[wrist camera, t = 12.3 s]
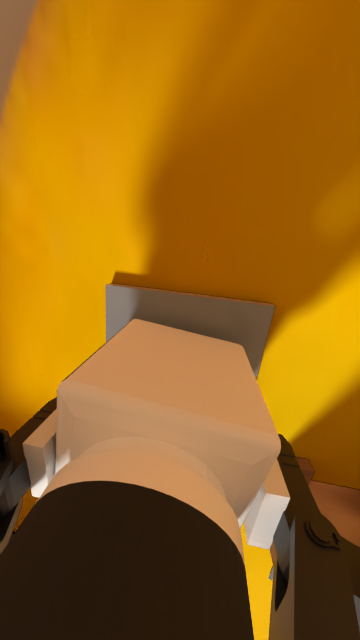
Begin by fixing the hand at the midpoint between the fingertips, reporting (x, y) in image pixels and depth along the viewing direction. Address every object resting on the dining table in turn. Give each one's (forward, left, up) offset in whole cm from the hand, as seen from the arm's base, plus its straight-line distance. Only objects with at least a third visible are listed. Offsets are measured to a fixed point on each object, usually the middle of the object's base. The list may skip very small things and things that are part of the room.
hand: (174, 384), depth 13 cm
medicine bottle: (0, 0, -1) cm, 1 cm away
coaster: (0, 0, -3) cm, 3 cm away
